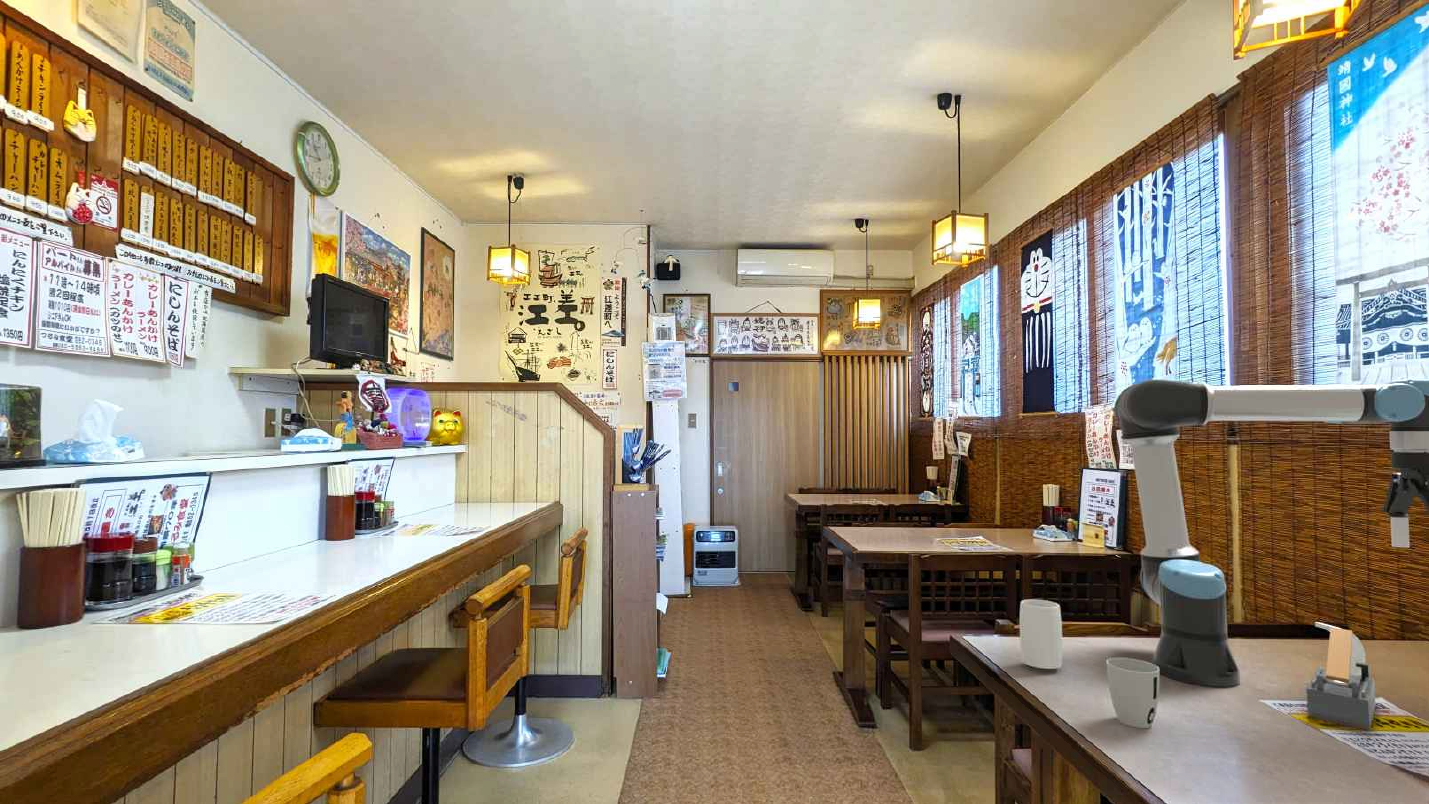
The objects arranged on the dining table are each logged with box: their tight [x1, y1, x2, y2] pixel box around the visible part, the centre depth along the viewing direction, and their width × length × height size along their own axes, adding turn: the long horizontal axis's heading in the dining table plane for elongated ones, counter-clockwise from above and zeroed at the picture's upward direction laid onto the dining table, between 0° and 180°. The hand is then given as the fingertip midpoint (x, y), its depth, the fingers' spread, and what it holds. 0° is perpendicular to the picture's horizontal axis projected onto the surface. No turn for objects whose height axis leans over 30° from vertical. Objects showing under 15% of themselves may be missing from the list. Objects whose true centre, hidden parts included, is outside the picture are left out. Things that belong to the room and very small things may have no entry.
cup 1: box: [1019, 598, 1063, 670], centre depth 146 cm, size 8×8×14 cm
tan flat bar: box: [1326, 627, 1353, 683], centre depth 124 cm, size 13×3×1 cm, turn 133°
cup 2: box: [1105, 657, 1160, 729], centre depth 118 cm, size 8×8×10 cm
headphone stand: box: [1314, 622, 1367, 676], centre depth 137 cm, size 5×6×12 cm
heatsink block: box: [1306, 662, 1376, 731], centre depth 123 cm, size 16×8×8 cm, turn 132°
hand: (1420, 551), depth 140 cm, fingers open, 13 cm apart
